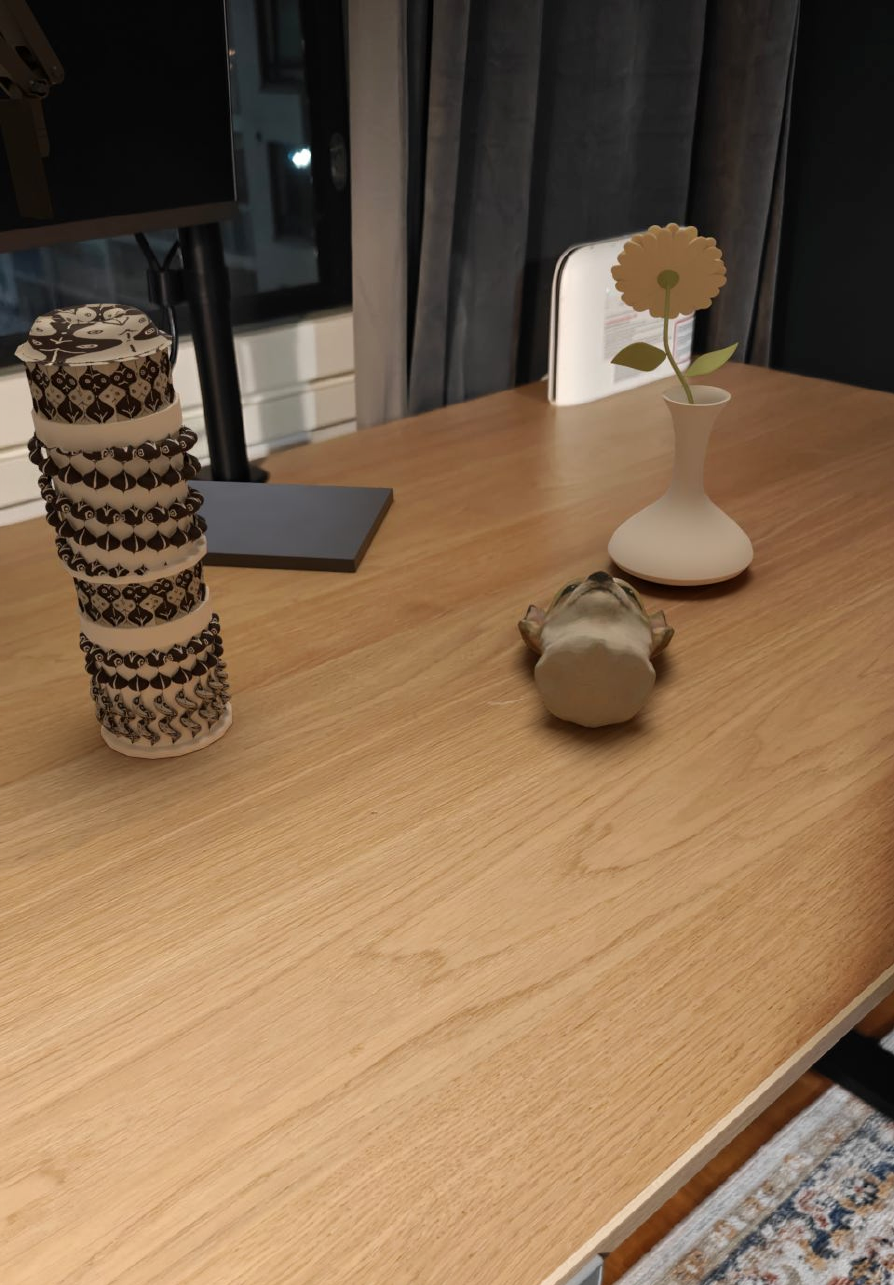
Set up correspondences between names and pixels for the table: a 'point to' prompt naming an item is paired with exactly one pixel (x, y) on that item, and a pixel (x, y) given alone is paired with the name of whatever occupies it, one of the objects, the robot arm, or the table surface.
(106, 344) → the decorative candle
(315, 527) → the dark grey base plate
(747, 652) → the table surface
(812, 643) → the table surface
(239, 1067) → the table surface
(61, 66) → the robot arm
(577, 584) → the ceramic sculpture
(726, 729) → the table surface
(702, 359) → the flower in vase
